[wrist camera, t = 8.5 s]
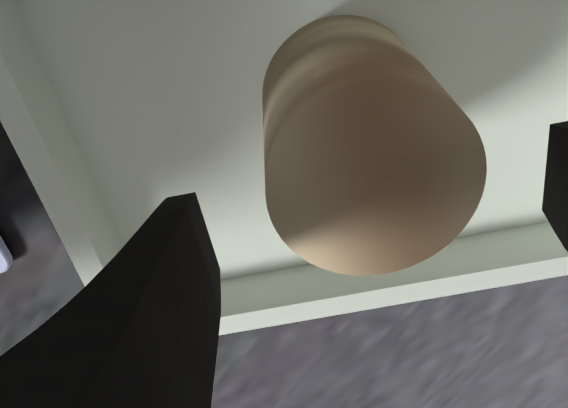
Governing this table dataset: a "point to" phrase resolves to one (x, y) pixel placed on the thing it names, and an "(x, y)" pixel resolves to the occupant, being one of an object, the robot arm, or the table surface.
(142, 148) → the tray
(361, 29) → the beige rounded cylinder
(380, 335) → the table surface
